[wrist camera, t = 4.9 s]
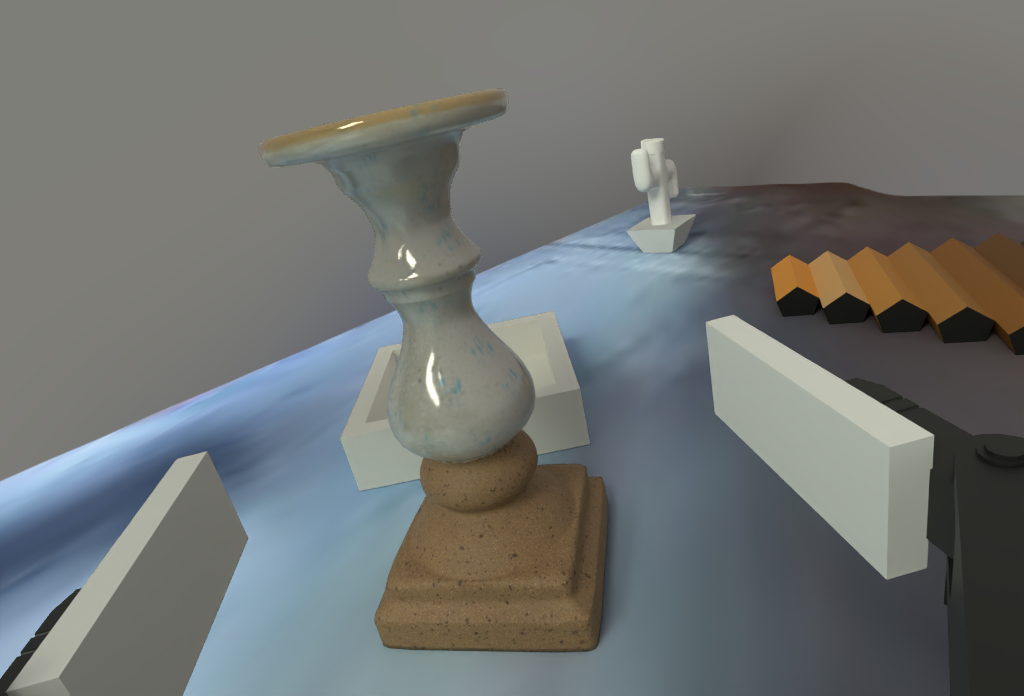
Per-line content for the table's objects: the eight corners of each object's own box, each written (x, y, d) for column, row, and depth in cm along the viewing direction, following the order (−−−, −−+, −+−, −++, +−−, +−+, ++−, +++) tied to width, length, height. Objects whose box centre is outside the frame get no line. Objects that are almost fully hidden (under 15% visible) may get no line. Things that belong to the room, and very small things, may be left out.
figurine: (701, 237, 86) (691, 128, 81) (674, 258, 80) (661, 141, 74) (655, 239, 91) (643, 136, 85) (625, 258, 84) (610, 149, 79)
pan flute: (1271, 391, 34) (1065, 261, 55) (1287, 336, 33) (1070, 225, 54) (789, 401, 43) (772, 286, 65) (787, 359, 42) (770, 256, 63)
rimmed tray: (359, 491, 43) (340, 438, 42) (392, 389, 59) (379, 347, 57) (590, 444, 43) (580, 388, 41) (561, 353, 59) (553, 310, 57)
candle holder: (443, 507, 40) (327, 130, 31) (609, 499, 37) (535, 81, 28) (379, 649, 30) (181, 157, 21) (599, 653, 27) (479, 86, 18)
